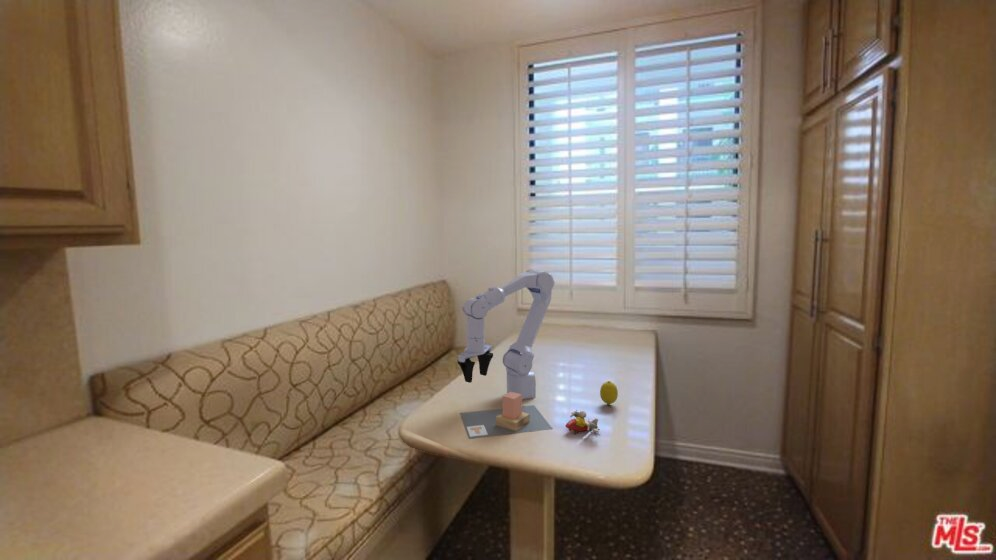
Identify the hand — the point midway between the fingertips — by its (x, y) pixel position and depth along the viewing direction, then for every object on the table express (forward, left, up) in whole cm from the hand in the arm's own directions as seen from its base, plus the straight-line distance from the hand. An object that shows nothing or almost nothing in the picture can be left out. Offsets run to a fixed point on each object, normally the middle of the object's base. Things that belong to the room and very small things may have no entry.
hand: (476, 378), depth 139 cm
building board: (-6, +12, -10) cm, 17 cm away
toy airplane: (-27, +24, -10) cm, 37 cm away
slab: (-8, +15, -9) cm, 19 cm away
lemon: (-42, +8, -10) cm, 44 cm away
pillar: (-8, +15, -7) cm, 18 cm away
